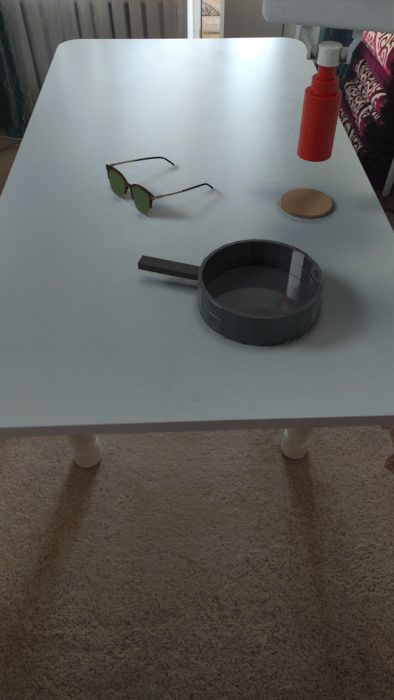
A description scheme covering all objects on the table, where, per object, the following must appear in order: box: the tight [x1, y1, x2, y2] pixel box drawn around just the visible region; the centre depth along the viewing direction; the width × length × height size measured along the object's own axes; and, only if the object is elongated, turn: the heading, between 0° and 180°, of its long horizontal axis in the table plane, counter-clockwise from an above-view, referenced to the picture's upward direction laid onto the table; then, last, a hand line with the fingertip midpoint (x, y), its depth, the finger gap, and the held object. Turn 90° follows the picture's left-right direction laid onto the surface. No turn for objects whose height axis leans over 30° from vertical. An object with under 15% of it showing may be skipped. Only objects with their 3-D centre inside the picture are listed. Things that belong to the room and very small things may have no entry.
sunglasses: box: [105, 156, 214, 216], centre depth 99 cm, size 14×15×5 cm
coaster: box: [279, 187, 333, 219], centre depth 97 cm, size 9×9×1 cm
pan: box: [197, 238, 325, 346], centre depth 77 cm, size 17×17×5 cm
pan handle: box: [137, 254, 201, 282], centre depth 80 cm, size 9×2×1 cm, turn 72°
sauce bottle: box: [296, 40, 344, 163], centre depth 84 cm, size 6×6×16 cm
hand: (328, 60), depth 80 cm, fingers closed on sauce bottle, 3 cm apart
